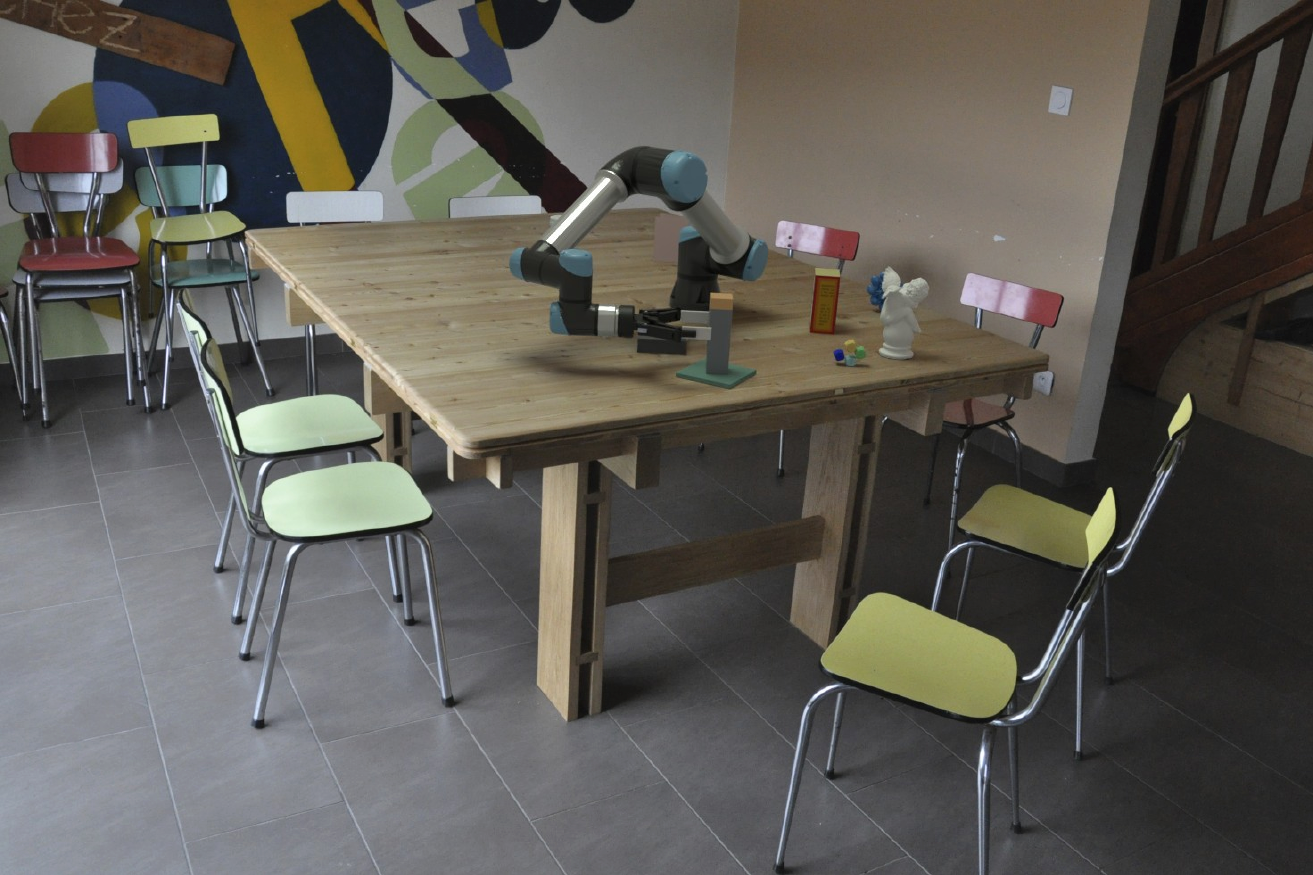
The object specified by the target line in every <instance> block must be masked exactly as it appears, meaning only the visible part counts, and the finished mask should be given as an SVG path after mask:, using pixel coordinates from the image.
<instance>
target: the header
mask: <svg viewBox="0 0 1313 875" xmlns="http://www.w3.org/2000/svg"><path fill="white" fill-rule="evenodd" d="M675 326H676V327H680V328H682V326H681V325H680V326H679V325H675ZM636 340H637V341H636V342H637V343H636V352H637V353H645V354H647V353H648V354H662V355H666V354H667V355H686V352H687V350H686V349H687V339H682V337H681V342H680V343H677V342H675V341H670V340H665V339H660V338H654V337H649V336H639V335H638V334H637V339H636Z"/></svg>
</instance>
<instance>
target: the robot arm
mask: <svg viewBox="0 0 1313 875" xmlns="http://www.w3.org/2000/svg"><path fill="white" fill-rule="evenodd" d="M707 172H708V170H707V167H706V164H705V162H704V161H703V159H702V158H701V157H700V156H699V155H698V154H695V153H692V152H690V151H686V150H673V149H667V148H660V147H655V146H649V145H639V146H635V147H631V148H628V149H626V150H623V151H622V152H621V153H619V154H617V155H616V156H614V157H613V158H611V159H610V160H609V161H608V162H606V163H605V164H604V165H603V166H602V167H600V169H599V170H598V171H597V172H596V173H595V176H594V181H593V182H592V183H591V184H590V185H589V187H587V188H586V190H584V191H583V193H582V194H580V196H579V197H578V198H577V199H576V200H575V201H574V202H573V203H572V204H571V205H570V206H569V207H568V208H567V209H566V210H565V211H564V213H562V214H560V215H561V217H560V218H559V219H558V220H557V221H556V222H555V223H554V224H553V225H552V226H551V227H550V228H549V227H548V229H547V230H546V231H545V232H544V233H543V234H542V235H541V236H540V237H539V238H538V239H537V240H536V242H535V243H533V244H532V245H531V246H530V247H527V246H525V247H522V246H521V247H517V248H516V249H514V250H513V252H512V253H511V255H510V257H509V261H508V263H509V264H508V267H509V270H510V273H511V275H512V276H513V277H515V278H516V279H519V280H520V281H524V282H525V283H532V284H537V285H540V286H544V287H545V286H546V287H547V288H548V287H549V288H554V289H557V290H558V300H557V301H552V302H551V303H550V306H549V330H550V332H551V333H552V334H555V335H563V336H564V335H565V336H569V337H571V336H576V337H577V336H578V337H579V336H580V337H602V338H601V339H603V340H605V339H607V338H609V337H610V338H615V337H616V335H617V337H618V338H619V339H620V338H622V339H632V338H634V337H635V335H634V334H635V331H637V336H638V335H639V336H649V337H654V338H660V339H665V340H670V341H675V342H677V343H680V342H681V337H682V339H686V340H696V341H697V340H700V341H701V340H702V341H703V340H704V341H707V340H711V328H709V327H708V326H707V327H706V326H687V325H686V326H684V325H683V326H682V328H680V327H676V326H677V325H673V324H672V325H671V324H669V323H673V322H680V323H684V324H686V323H688V324H690V323H691V324H706V325H708V322H709V307H710V293H722V292H721V289H720V284H719V276H722V277H727V278H731V279H736V280H741V281H743V282H755V281H757V280H758V279H759V278H760V277H762V275H763V273H764V271H765V269H766V266H767V264H768V259H769V247H768V244H767V242H766V240H763V239H761V238H754V237H752V236H751V234H750V233H749V232H748V231H747V230H746V228H744V227H743V226H741V225H737V224H734V222H733V221H732V220H731V219H730V217H729V216H728V215H727V214H726V212H725V211H724V210H723V209H722V207H720V205H719V204H718V202H717V201H716V200H715V199H714V197H713V196H712V195H711V193H710V192H709V191H708V190H707V186H708V181H709V180H708V176H709V175H708V174H706V173H707ZM633 195H642V196H648V197H654V198H657V199H659V200H661V202H663V204H664V205H665V206H666V207H667V208H668V209H669V210H670V211H672V212H676V213H680V214H682V216H683V217H685V218H686V219H687V221H688V222H689V223H690V226H686V227H684V228H682V229H681V231H680V236H679V241H678V243H679V247H678V262H677V270H676V271H677V272H676V280H675V282H674V285H673V288H672V290H671V293H670V295H669V302H668V304H669V307H665V308H655V309H654V308H653V309H652V308H651V309H639V310H638V313H636V308H635V305H630V304H620V305H618V306H617V305H616V304H613V303H593V284H594V283H593V280H594V279H593V278H594V277H593V276H594V267H593V266H594V265H593V254H592V253H591V252H590V251H588V250H586V249H579V248H578V249H574V248H575V247H576V246H577V245H578V246H579V244H580V243H581V242H582V241H583V240H584V239H585V238H586V237H587V236H588V235H589V233H591V232H592V230H593V229H594V228H595V227H596V226H597V225H598V224H599V223H600V222H601V221H602V219H604V218H605V216H606V215H607V214H609V213H610V211H611V210H612V209H613V208H614V207H615V206H616V205H617V204H622V203H624V202H625V201H626V200H628V199H629V197H631V196H633Z"/></svg>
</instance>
